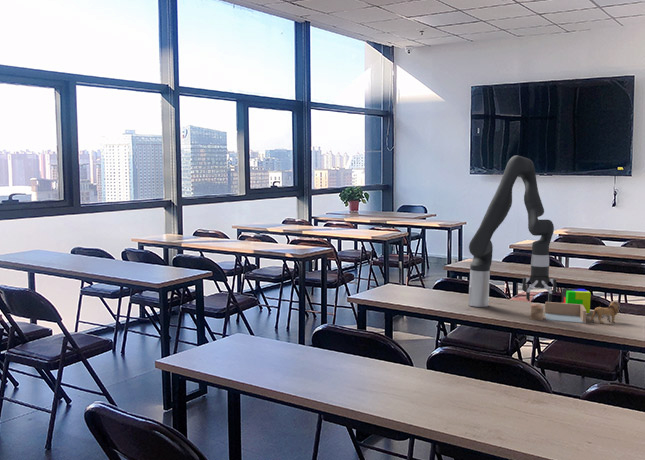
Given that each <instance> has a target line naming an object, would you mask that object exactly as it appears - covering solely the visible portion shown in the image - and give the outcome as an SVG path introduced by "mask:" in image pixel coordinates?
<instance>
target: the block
mask: <svg viewBox="0 0 645 460" xmlns="http://www.w3.org/2000/svg"><path fill="white" fill-rule="evenodd" d="M544 309H545V306H544V304H538V303H537V304H536V303H531V304H530V317H529V318H530V320H533V321H534V320H535V321H543V320H544Z"/></svg>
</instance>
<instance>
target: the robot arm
mask: <svg viewBox="0 0 645 460" xmlns="http://www.w3.org/2000/svg"><path fill="white" fill-rule="evenodd" d="M501 177H502V178H501V180H500V182H499V185H498V187H497V189H496V191H495V194H494V195H493V197H492V198H491V201H490V203H489V205H488V207H487V210H486V211H485V214H484V216H483V218H482V220H481V223H480V226H479V227H478V228H477V230H476V232H475V234H474V236H473V237H472V239H471V240H470V242H469V245H468V251H469V253H470V255H472V256H473V259H472V261H471V263H470V267H469V268H470V269H469V285H468V302H467V303H468V304H467V305H468V306H470V307H476V308H485V307H486V308H487V307H489V302H490V301H489V299H490V298H489V297H490V277H491V275H490V273H491V272H490V271H491V270H490V269H491V266H492V261H493V251H494V250H493V247H494V246H493V242H492V240H491V239H492V237H493V235H494V233H495V232H496V230H497V229H498V228H499V227H500V225H502V223H503V222H504V220H505V219H506V217H507V216H508V214H509V212H510V209H512V204H513V187H514V184H515V183H516V180H517V179H518V178H521V180H522V182H523V184H524V185H523V186H524V194H523V201H524V205H525V208H526V209H525V210H526V212H527V220H528V222H527V223H528V224H527V226H528V231H529V233H530V235H532V236H534V237H535V236H536V237H537V236H539V237H540V238H539V239H538V240H535V241H533V242H532V244H531V246H532V247H531V258H530V259H531V260H530V276H529V277H526V276H523V278H522V289H521V290H522V291H523V292H525V293H526V295H525V297H526V298H525V299H526V300H527V301H528V302H530V301H531V299H530V298H531V297H530V296H531V295H530V294H531V293H530V292H531V291H532V290H533V288H536V289H539V288H540V289H544V288H545V290H547V292H548V293H547V294H548V295H547V298H548V299H547V302H552V300H553V294H555V293H556V294H557V290H558V289H557V279H556V278H549V276H550V244H551V242H552V241H551V240H552V238H553V235H554V231H555V226H554V223H553V221H552V220H550V219H539V218H540V217H542V216H543V215H544V213H545V209H544V205H543V202H542V199H541V197H540V193H539V188H538V183H537V182H538V181H537V176H536V170H535V165H534V162H533V160H532V159H530V158H528V157H525V156H521V155H518V154H517V155H513V156H511V158H509V160H508V161H507V164H506V166H505V169H504V171H503V175H502V176H501ZM528 282H530V283H531V284H530V285H529V286H528V287H527V288H526V286H527V283H528ZM550 282H551V284H552V289H551V288H550V286H549V285H548V284H549V283H550Z"/></svg>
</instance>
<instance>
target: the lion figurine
mask: <svg viewBox="0 0 645 460" xmlns="http://www.w3.org/2000/svg"><path fill="white" fill-rule="evenodd" d="M619 310H620V303H619V301H616V300H613V301H611V302H610V303H609V305H608V306H607V307H601V306H598V307H595V308H594V310H593V312H592V316H590V322H591V323H594V322H595V321H594V318H595V317H597V316H598V318H597V319H598V322H599V323H600V324H604V321H602V318H603V317H606V322H608V321H611V323H613V324H614V323H616V322H615V317H616V316H617V315H618V313H619ZM610 317H611V320H610Z"/></svg>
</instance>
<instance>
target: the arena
mask: <svg viewBox="0 0 645 460" xmlns="http://www.w3.org/2000/svg"><path fill="white" fill-rule="evenodd" d="M544 316H545V321H550V322H551V321H553V322H565V323H577V324H578V323H579V324H586V322H587V314H586V309H585V308H584V306H583V305H582V304H568V303H562V302H552V301H550V302H548V301H545V303H544Z"/></svg>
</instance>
